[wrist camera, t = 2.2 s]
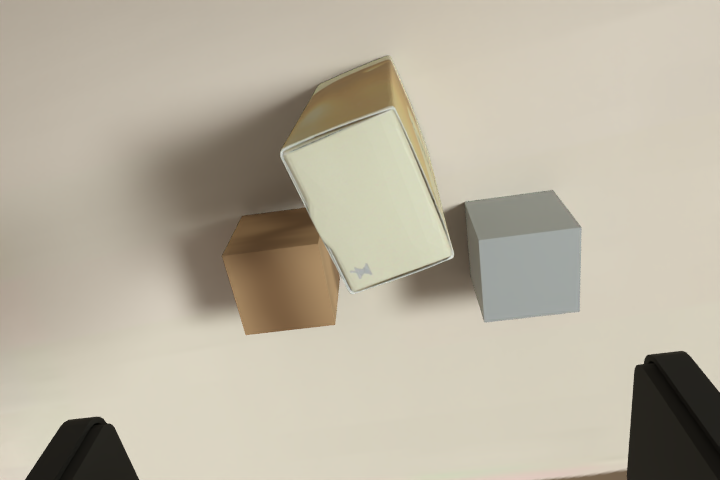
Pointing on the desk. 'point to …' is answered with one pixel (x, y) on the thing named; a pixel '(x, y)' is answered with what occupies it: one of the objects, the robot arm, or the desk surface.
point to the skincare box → (368, 178)
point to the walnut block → (281, 273)
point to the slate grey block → (524, 256)
